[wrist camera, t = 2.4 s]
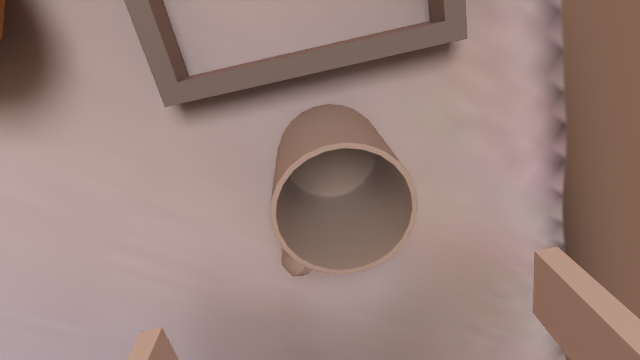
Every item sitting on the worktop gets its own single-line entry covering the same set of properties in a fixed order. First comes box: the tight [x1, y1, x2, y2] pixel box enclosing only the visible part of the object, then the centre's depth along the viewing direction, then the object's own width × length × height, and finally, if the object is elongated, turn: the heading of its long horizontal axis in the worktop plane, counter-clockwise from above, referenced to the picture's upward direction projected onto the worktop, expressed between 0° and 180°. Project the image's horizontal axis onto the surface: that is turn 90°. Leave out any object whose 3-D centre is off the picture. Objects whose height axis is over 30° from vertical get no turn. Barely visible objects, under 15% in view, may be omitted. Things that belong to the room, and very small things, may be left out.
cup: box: [270, 104, 418, 276], centre depth 23 cm, size 7×10×9 cm
